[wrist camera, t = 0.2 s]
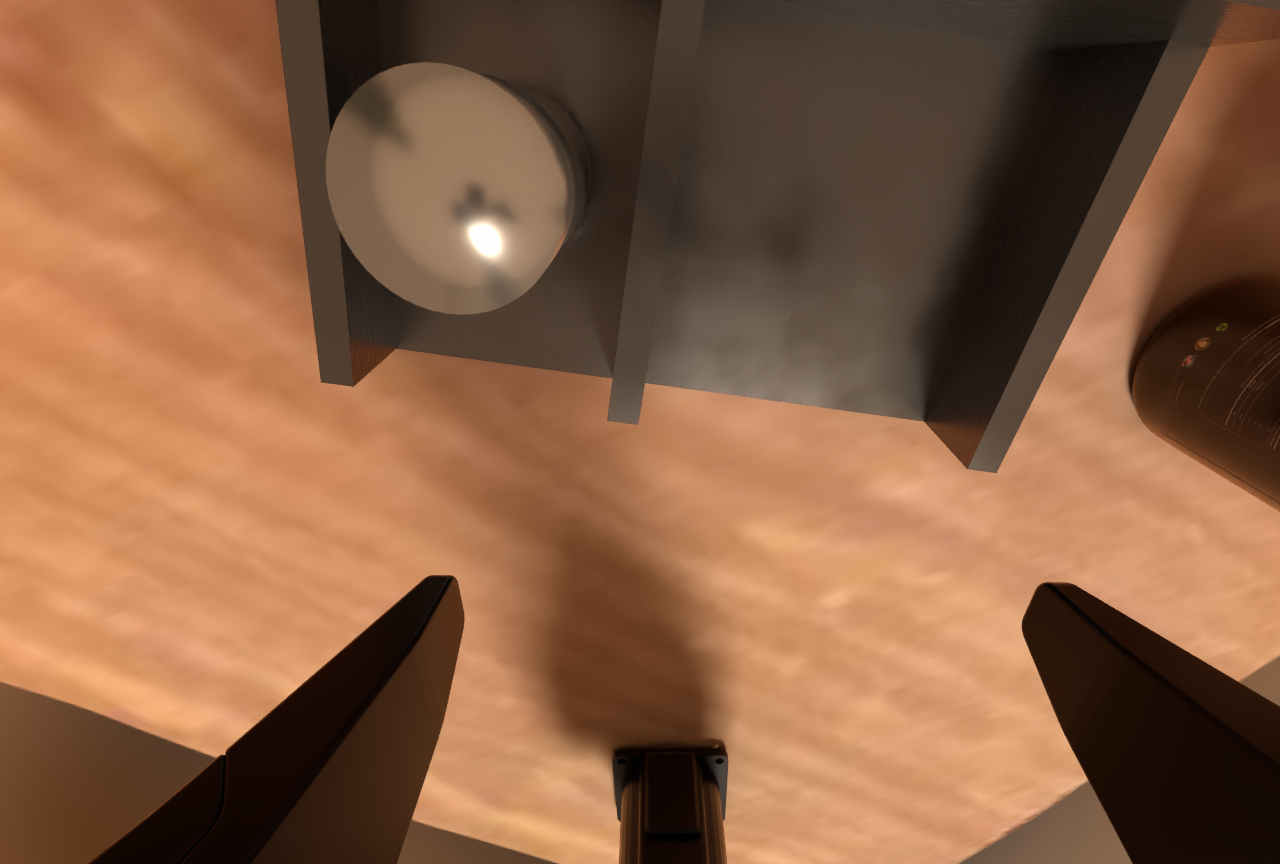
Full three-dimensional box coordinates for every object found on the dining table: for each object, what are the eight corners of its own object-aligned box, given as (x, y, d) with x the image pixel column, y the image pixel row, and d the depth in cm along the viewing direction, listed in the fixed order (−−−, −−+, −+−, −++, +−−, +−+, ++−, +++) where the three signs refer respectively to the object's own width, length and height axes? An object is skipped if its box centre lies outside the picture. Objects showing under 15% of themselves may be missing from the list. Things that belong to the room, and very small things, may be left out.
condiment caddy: (938, 413, 24) (1061, 539, 16) (379, 335, 22) (254, 435, 15) (1102, 24, 18) (1407, -41, 10) (350, -110, 16) (121, -284, 9)
